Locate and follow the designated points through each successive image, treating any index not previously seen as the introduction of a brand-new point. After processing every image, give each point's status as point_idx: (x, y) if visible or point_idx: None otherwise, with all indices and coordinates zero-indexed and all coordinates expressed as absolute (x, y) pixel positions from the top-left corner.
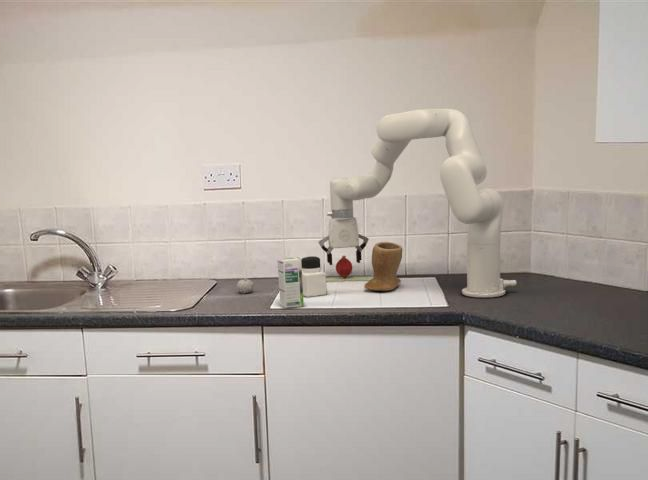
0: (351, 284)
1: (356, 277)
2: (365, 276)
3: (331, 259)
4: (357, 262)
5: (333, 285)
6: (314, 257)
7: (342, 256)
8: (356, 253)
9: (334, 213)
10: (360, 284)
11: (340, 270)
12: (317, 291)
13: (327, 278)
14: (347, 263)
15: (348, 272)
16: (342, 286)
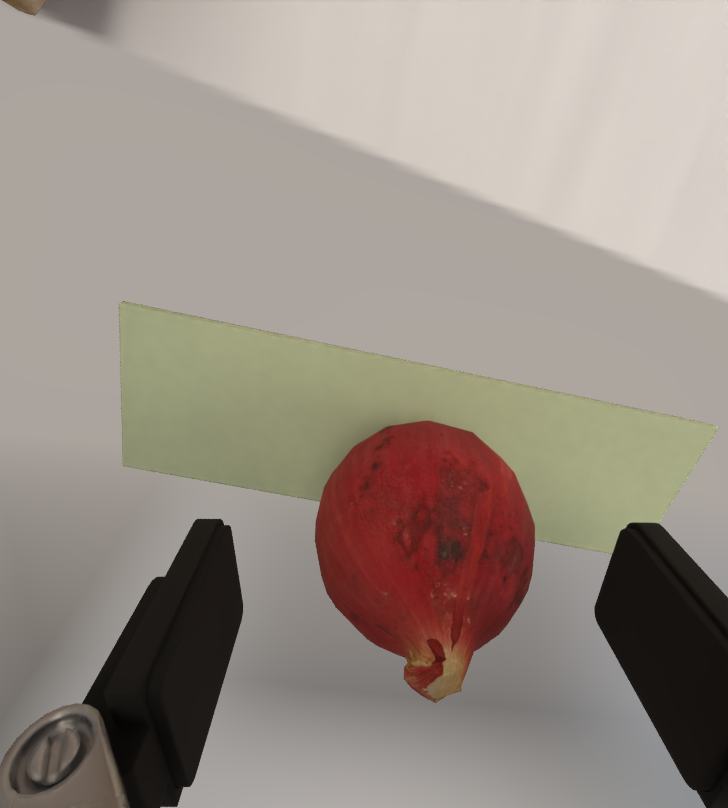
0: (402, 125)
1: (290, 458)
2: (200, 474)
3: (692, 587)
4: (234, 552)
5: (628, 140)
6: None
7: (464, 676)
8: (197, 723)
9: None
10: (291, 78)
11: (488, 447)
12: None
13: (561, 499)
14: (396, 507)
15: (382, 430)
16: (548, 9)
